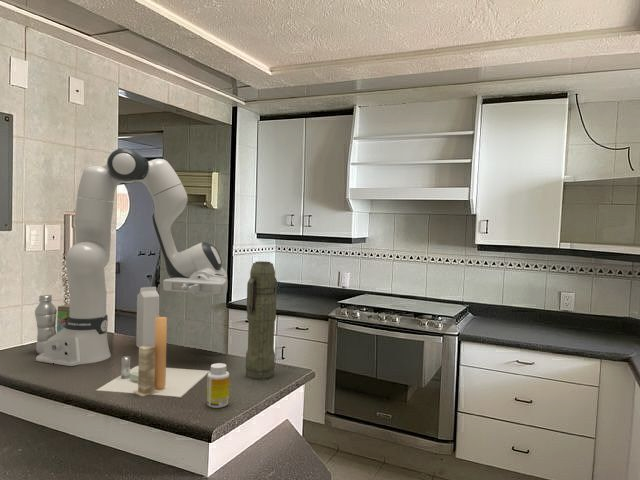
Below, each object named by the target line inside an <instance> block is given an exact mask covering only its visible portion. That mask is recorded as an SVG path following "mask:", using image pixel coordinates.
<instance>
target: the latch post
mask: <svg viewBox="0 0 640 480" xmlns="http://www.w3.org/2000/svg"><path fill="white" fill-rule="evenodd" d="M138 366H139V371H138V390H135V391H133V393H132V394H134V395H135V394H136V395H138V396H139V397H141V398H145V397H148V396H152V395H151V394H155V393H158V392H160V391H158V390H156V389H154V378H155V347H153V346H150V345H147V346H142V347H138Z"/></svg>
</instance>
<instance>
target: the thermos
mask: <svg viewBox="0 0 640 480" xmlns="http://www.w3.org/2000/svg"><path fill="white" fill-rule="evenodd" d="M274 267H275V266H274V264H273V263H271V261H264V260H263V261H260V260H259V261H255V262H253V263H252V265H251V269H250V273H249V274H250V275H249V276H250V277H249V279H248V281H247V286H246V288H247V289H246V290H247V291H246V315H247V316H246V320H247V321H248V325H247V327H248V328H247V329H248V330H247V331H248V333H247V334H248V335H247V350H246V352H245V371H246V372H245V377H246V378H247V379H249V380H254V381H255V380H256V381H264V380H263V379H266V380H269V379H268V378H270V379H272V378H273V377H274V376H275V373H274V372H275V366H276V364H275V363H276V353H275V350H274V343H275V338H274V337H275V336H274V335H275V322H276V320H277V319H276V318H277V296H278V295H277V291H278V280H277V278H276V271H275V268H274ZM271 377H272V378H271Z"/></svg>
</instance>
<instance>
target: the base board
mask: <svg viewBox="0 0 640 480" xmlns="http://www.w3.org/2000/svg"><path fill="white" fill-rule="evenodd" d="M138 371H139V365H136V366H134V367H133V368H130V373H132V372H138ZM209 372H211V370H202V369H189V368H188V369H187V368H178V367H177V368H176V367H166V385H165V387H162V388H156V387H154V389H156V390H158V391H160V392H158V393H155V394H151V395H150V396H152V395H153V396H154V395H155V396H164V397H174V398H177V399H178V398H182V397H183V396H184V395H185V394H187V393H188V392H189V391H190V390H191V389H192V388H193V387H195V386H196V385H197V384H198V383H199V382H200V381H201V380H202V379H204V378H205V377H207V375H208V373H209ZM135 390H138V382H137V381H134V380H131V379H129V378H128V379H122V378H121V375H118V376H117V377H115V378H114V379H112V380H111V381H109V382H107V383H105V384H104V385H102V386H101V387H98V389H96V391H97V392H98V391H100V392H114V393H124V394H125V393H126V394H134V393H133V391H135Z"/></svg>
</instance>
